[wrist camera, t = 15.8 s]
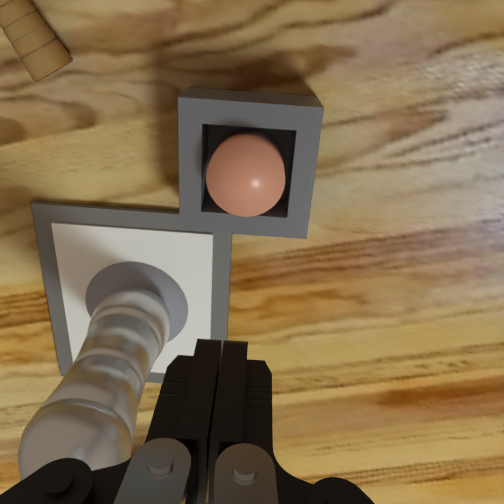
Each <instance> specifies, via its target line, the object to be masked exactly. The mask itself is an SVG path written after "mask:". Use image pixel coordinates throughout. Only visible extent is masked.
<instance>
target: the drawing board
mask: <svg viewBox="0 0 504 504" xmlns="http://www.w3.org/2000/svg"><path fill="white" fill-rule="evenodd" d="M31 209H32V215H33V220H34V226H35V232H36V237H37V243H38V249H39V254H40V260H41V266H42V271H43V277H44V283H45V288H46V294H47V300H48V305H49V311H50V317H51V322H52V328H53V334H54V339H55V345H56V351H57V356H58V362H59V368H60V373H61V376H65V375H66V373H67V372H68V370H69V369H70V368H71V366H72V364H73V362H74V361H75V359H76V358H77V356H78V354H79V351H80V349H81V347H82V344H83V342H84V340H85V338H86V335H87V332H88V327H89V323H90V320H91V317H92V315H93V312H94V310H95V308H96V307H97V305H98V304H99V303H100V302H101V301H102V300H103V299H104V298H105V297H106V296H107V295H108V294H109V293H111V292H112V291H114V290H116V289H118V288H122V287H130V286H135V287H142V288H146V289H148V290H150V291H152V292H154V293H155V294H156V295H158V296H159V297H160V298H161V299H162V300H163V301H164V303H165V304H166V306H167V308H168V310H169V313H170V335H169V338H168V341H167V343H166V344H165V346H164V348H163V350H162V352H161V353H160V355H159V356H158V358H157V359H156V361H155V363H154V365H153V367H152V369H151V372H150V374H149V376H148V378H147V380H146V382H154V383H163V379H164V376H165V373H166V369H167V366H168V365H169V364H170V363H171V362H172V361H173V360H174V359H175V357H176V356H177V355H188V356H193V355H194V351H195V346H196V342H197V339H212V340H222V349H223V342H224V340H227V331H228V310H229V289H230V268H231V247H232V234H231V233H217V232H203V231H189V230H180V225H179V211H168V210H154V209H140V208H126V207H112V206H98V205H84V204H70V203H57V202H43V201H33V202H32V203H31Z"/></svg>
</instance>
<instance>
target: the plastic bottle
mask: <svg viewBox="0 0 504 504" xmlns="http://www.w3.org/2000/svg"><path fill="white" fill-rule="evenodd" d="M169 335H170V313H169V310H168V308H167V306H166V304H165V303H164V301H163V300H162V299H161V298H160V297H159V296H158V295H156V294H155V293H154V292H152V291H150V290H148V289H146V288H142V287H135V286H130V287H122V288H118V289H116V290H114V291H112V292H111V293H109V294H108V295H107V296H106V297H105V298H104V299H103V300H102V301H101V302H100V303H99V304H98V305H97V307H96V308H95V310H94V312H93V315H92V317H91V320H90V323H89V327H88V332H87V335H86V338H85V340H84V342H83V344H82V347H81V349H80V351H79V354H78V356H77V358H76V359H75V361H74V362H73V364H72V366H71V368H70V369H69V370H68V372H67V373H66V375H65V376H64V378H63V379H62V381H61V382H60V384H59V385H58V386H57V388H56V389H55V390H54V391H53V393H52V394H51V395H50V396H49V397H48V399H47V400H46V401H45V402H44V404H43V405H42V406H41V407H40V408H39V410H38V411H37V412H36V413H35V415H34V416H33V417H32V419H31V420H30V421H29V423H28V424H27V426H26V427H25V429H24V431H23V433H22V437H21V441H20V445H19V450H18V464H19V474H20V479H21V481H22V480H23V479H25V478H26V477H28V476H29V475H31V474H32V473H34V472H35V471H37V470H38V469H39V468H41V467H42V466H44V465H46V464H47V463H50V462H52V461H54V460H57V459H62V458H76V459H80V460H82V461H84V462H85V463H86V464H88V466H89V467H90V468H91V471H93V470H97V469H101V468H106V467H110V466H114V465H118V464H120V463H123V462H125V461H127V460H128V459H130V455H131V451H132V444H133V439H134V432H135V425H136V419H137V412H138V408H139V404H140V401H141V397H142V393H143V389H144V386H145V382H146V380H147V378H148V376H149V374H150V372H151V369H152V367H153V365H154V363H155V361H156V359H157V358H158V356H159V355H160V353H161V352H162V350H163V348H164V346H165V344H166V343H167V341H168V338H169Z"/></svg>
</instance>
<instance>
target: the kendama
mask: <svg viewBox="0 0 504 504" xmlns="http://www.w3.org/2000/svg"><path fill="white" fill-rule="evenodd" d="M0 27H1V28H2V29H3V32H4V33H5V35H6V37H7V38H8V40H9V41H10V43H12V46H13V48H14V49H15V51H16V52H17V54H18V55H19V56H20V57H21V58H22V59H21V60H22V62H23V64H24V65H25V67H26V69H27V70H28V72H29V74H30V75H31V77H32V79H33V80H34V81H40V80H41V79H43V78H45V77H47V76H49V75H51V74H53V73H54V72H56V71H58V70H59V69H61V68H62V67H64V66H66V65H67V64H69V63H70V62H72V60H73V58H72V57H71V56H70V54H69V53H68V52H67V50H66V49H65V48H64V47H63V45H62V44H61V43H60V41H59V40H58V39H56V38H55V35H54V33H53V32H52V31H51V30H50V28H49V27H48V26H47V25H46V23H45V22H44V20H43V19H42V17H41V16H40V15H39V13H38V12H36V10H35V8H34V6H33V5H32V4H31V2H30V1H29V0H0Z"/></svg>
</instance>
